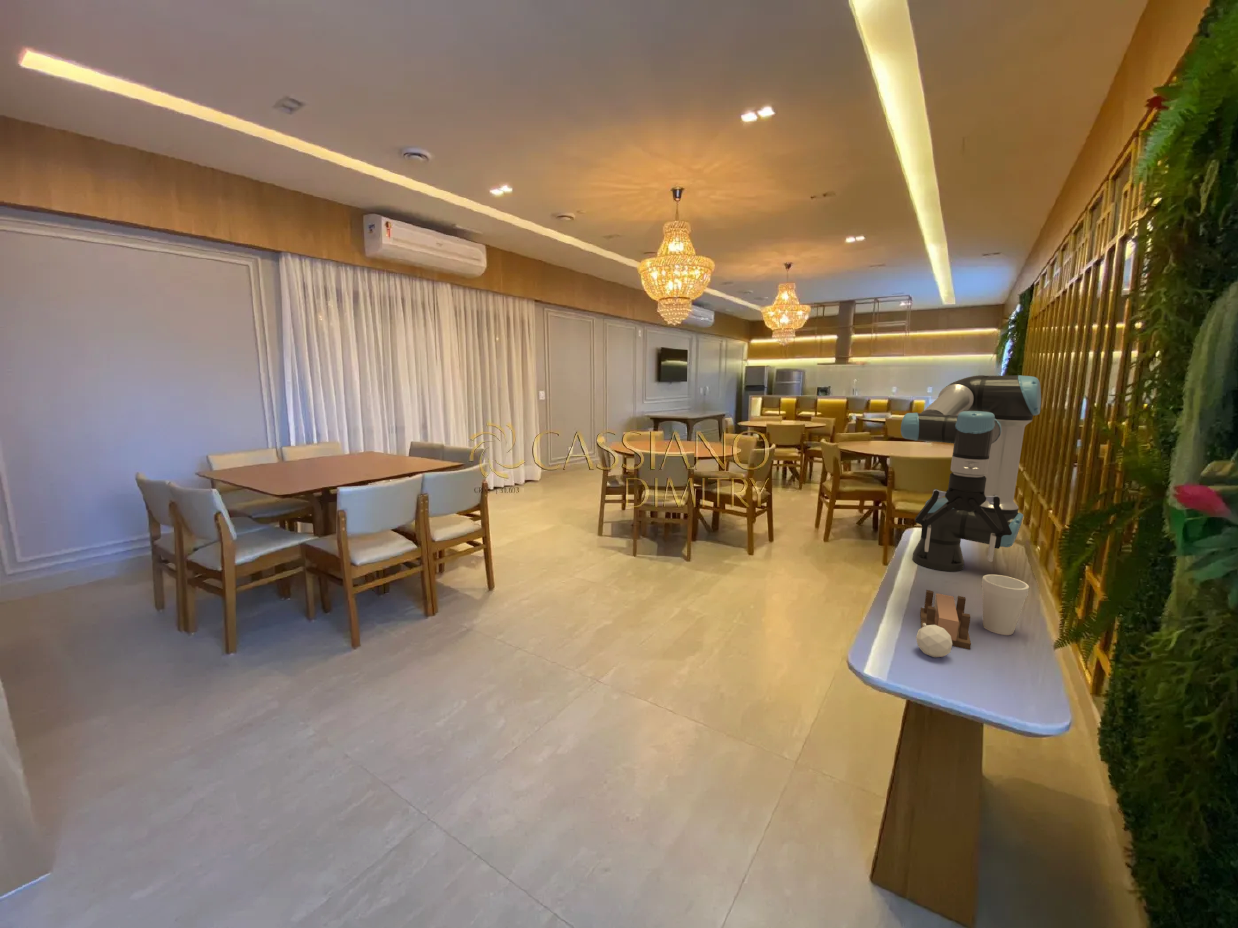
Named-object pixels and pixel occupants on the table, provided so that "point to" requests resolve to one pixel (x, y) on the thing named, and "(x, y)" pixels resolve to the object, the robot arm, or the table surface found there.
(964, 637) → the rack
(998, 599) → the foam cup
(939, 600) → the clay bar
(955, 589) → the table surface
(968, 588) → the table surface
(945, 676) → the table surface
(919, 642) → the cream rounded egg shape
